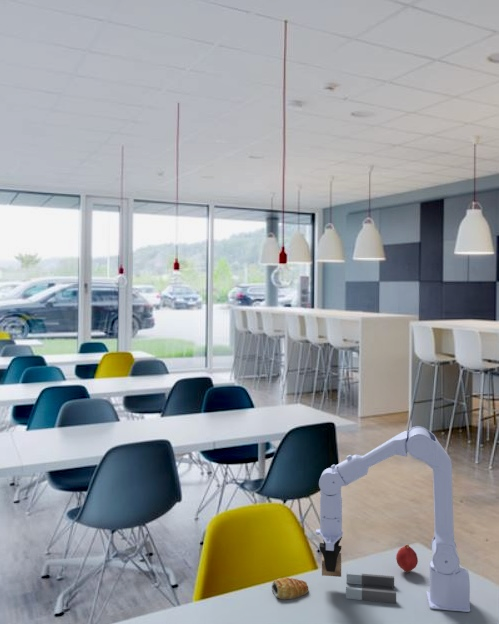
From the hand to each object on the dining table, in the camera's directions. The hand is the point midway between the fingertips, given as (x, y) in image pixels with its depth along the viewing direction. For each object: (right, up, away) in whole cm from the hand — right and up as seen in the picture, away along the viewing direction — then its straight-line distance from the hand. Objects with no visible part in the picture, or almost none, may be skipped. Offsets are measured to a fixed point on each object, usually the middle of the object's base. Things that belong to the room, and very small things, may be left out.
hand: (331, 566), depth 153 cm
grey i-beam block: (+10, -6, -2) cm, 12 cm away
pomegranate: (+22, -6, +9) cm, 25 cm away
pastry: (-12, -7, -2) cm, 13 cm away
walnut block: (0, -2, 0) cm, 2 cm away
